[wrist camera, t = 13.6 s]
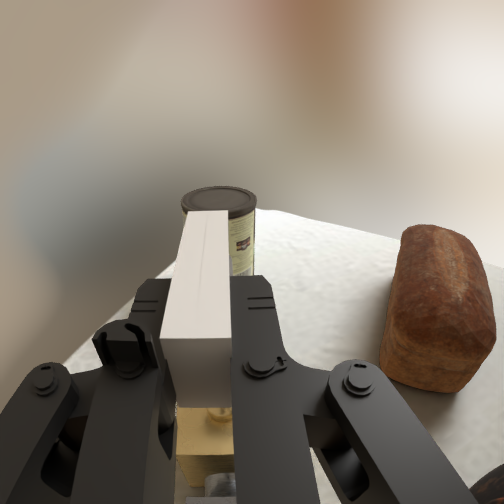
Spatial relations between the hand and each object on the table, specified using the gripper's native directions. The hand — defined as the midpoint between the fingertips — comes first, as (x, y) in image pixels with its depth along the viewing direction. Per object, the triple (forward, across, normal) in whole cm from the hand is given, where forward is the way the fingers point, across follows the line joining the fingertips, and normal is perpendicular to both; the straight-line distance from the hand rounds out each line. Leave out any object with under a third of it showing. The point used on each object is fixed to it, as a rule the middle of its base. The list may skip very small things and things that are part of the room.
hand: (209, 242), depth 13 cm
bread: (+17, +28, -24) cm, 41 cm away
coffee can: (+30, -1, -24) cm, 39 cm away
